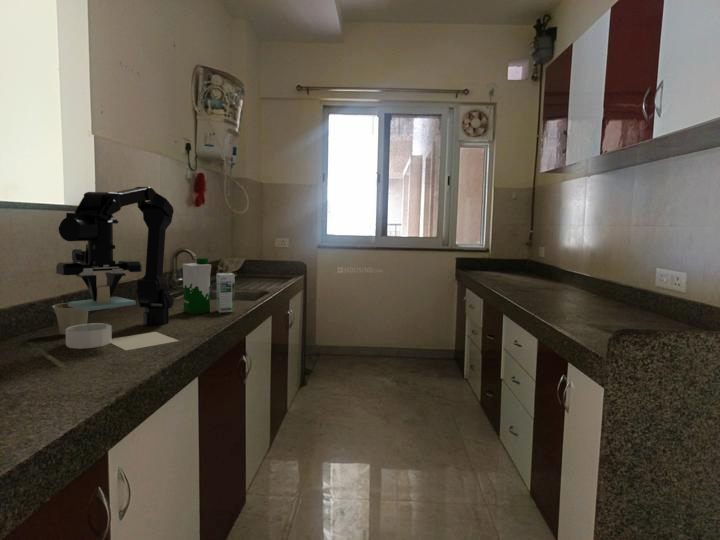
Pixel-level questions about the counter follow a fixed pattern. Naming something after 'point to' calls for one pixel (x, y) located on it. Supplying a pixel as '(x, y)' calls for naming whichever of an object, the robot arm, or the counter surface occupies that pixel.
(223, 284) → the syrup box
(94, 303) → the lid
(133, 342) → the mat
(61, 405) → the counter surface
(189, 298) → the milk carton
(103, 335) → the bowl
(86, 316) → the flower pot
